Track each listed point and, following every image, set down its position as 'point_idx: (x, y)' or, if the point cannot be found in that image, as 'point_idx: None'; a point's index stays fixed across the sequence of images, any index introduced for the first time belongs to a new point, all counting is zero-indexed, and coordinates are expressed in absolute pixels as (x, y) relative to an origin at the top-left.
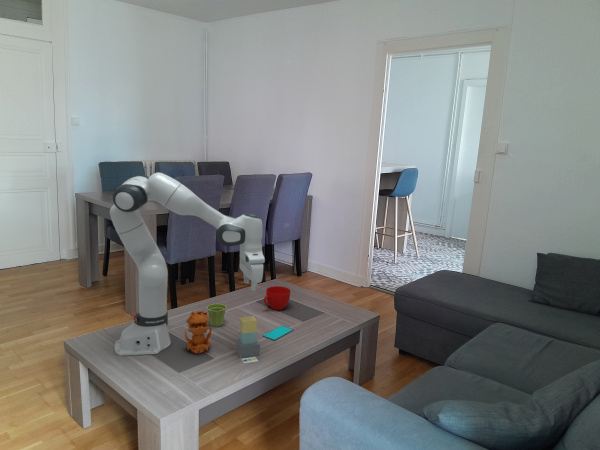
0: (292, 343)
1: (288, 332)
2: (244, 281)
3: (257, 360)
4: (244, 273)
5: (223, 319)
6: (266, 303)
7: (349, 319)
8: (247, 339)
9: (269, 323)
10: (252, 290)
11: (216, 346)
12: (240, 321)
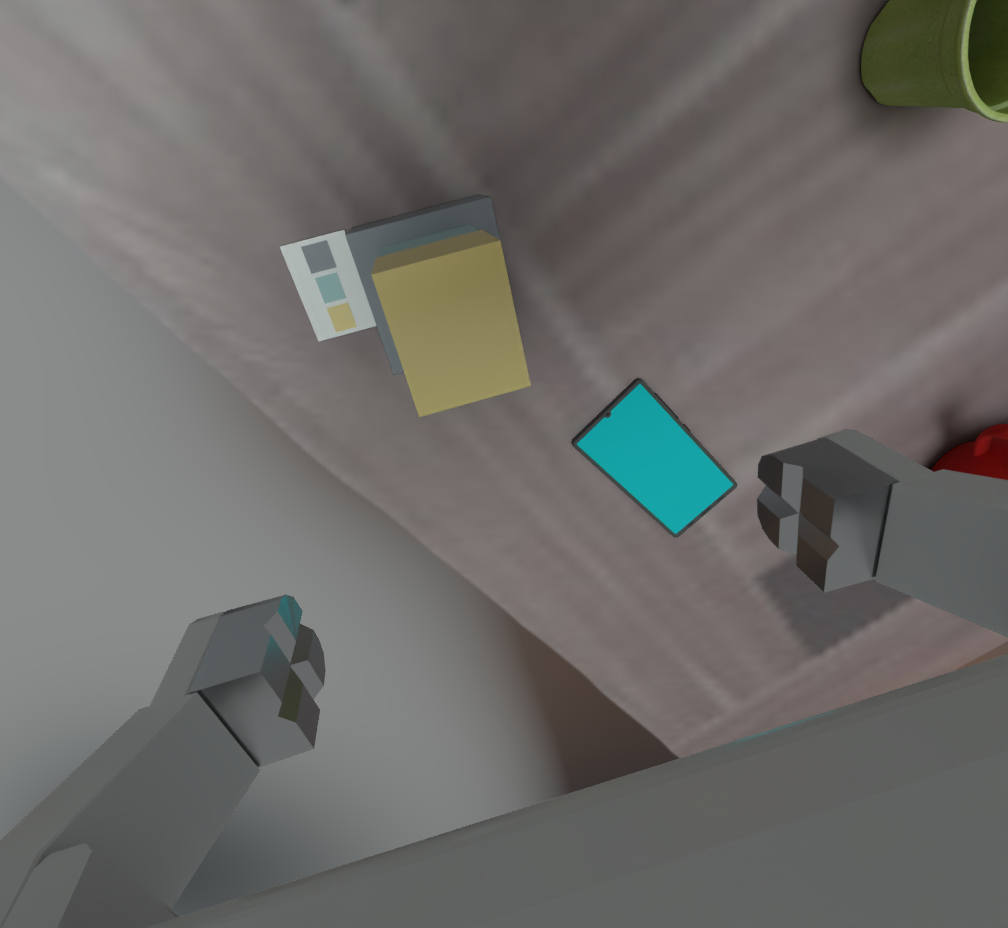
0: (531, 524)
1: (649, 513)
2: (828, 450)
3: (327, 337)
4: (935, 706)
5: (909, 103)
6: (983, 434)
7: (719, 730)
8: None
9: (788, 423)
10: (202, 632)
11: (539, 31)
12: (463, 245)
